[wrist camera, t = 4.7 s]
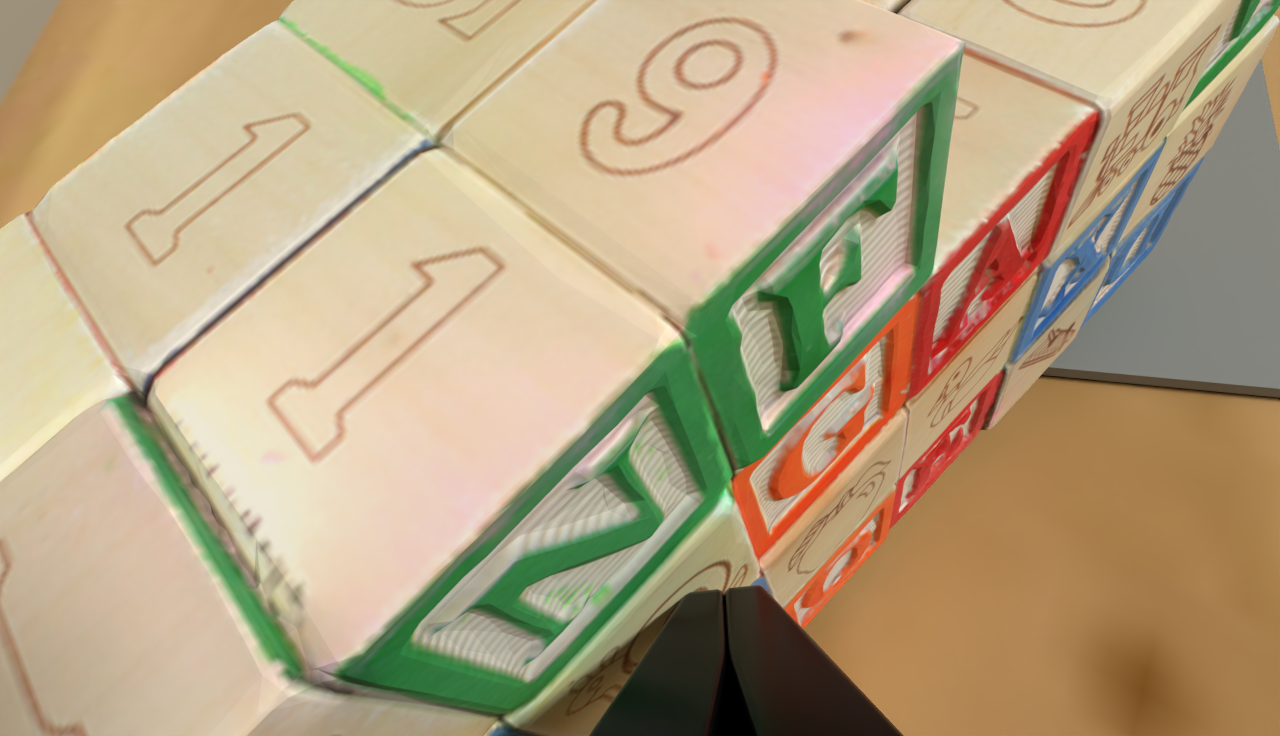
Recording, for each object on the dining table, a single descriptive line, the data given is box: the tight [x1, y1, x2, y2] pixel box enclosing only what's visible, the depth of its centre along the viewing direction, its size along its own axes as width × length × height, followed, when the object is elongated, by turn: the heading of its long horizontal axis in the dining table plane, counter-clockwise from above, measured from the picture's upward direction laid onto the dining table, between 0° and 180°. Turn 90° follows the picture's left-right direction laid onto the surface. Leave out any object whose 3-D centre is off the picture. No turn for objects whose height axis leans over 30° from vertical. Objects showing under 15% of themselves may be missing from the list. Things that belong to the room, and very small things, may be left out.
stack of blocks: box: [0, 0, 1280, 736], centre depth 12 cm, size 21×6×12 cm, turn 133°
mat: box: [1042, 59, 1280, 398], centre depth 22 cm, size 13×24×1 cm, turn 79°
